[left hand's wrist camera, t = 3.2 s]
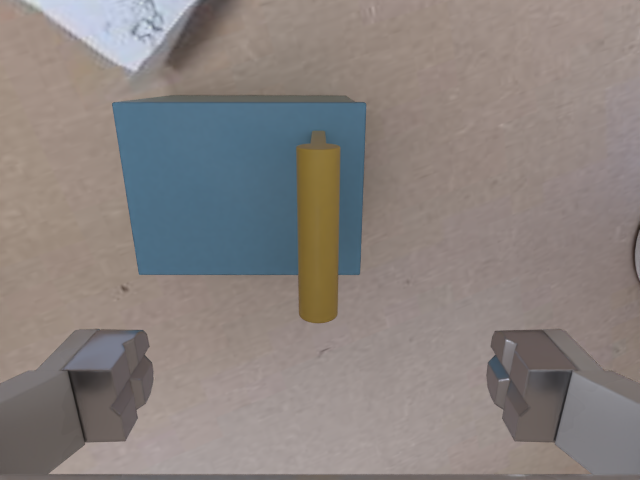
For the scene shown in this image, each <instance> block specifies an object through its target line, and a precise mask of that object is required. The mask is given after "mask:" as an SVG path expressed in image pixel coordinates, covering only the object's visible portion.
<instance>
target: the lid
mask: <svg viewBox="0 0 640 480" xmlns="http://www.w3.org/2000/svg"><path fill="white" fill-rule="evenodd" d="M112 106H113V113H114V119H115V125H116V132H117V138H118V144H119V151H120V157H121V163H122V170H123V176H124V182H125V189H126V195H127V201H128V208H129V214H130V220H131V227H132V233H133V240H134V246H135V252H136V259H137V265H138V271H139V275H298V284H299V315H300V317H301V318H302V319H303V320H305V321H308V322H311V323H325V322H329V321H331V320H333V319H334V318H335V317H336V316H337V313H338V275H360V261H361V234H362V206H363V179H364V152H365V125H366V103H364V102H114V103H112Z"/></svg>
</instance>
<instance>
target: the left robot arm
mask: <svg viewBox="0 0 640 480" xmlns="http://www.w3.org/2000/svg"><path fill="white" fill-rule="evenodd" d="M635 265H636V271H637V274H638V278H639V280H640V230H639V233H638V237H637V241H636V248H635ZM148 348H149V342H148V337H147V334H146V333H145V332H144V331H143V330H111V329H101V330H100V329H80V330H75V331H74V332H73V333H72V334H71V335H70V336H69V337H68V338H67V339H66V340H65V341H64V342H63V343H62V344H61V345H60V346H59V347H58V348H57V349H56V350H55V351H54V352H53V353H52V354H51V355H50V356H49V357H48V358H47V359H46V360H45V362H44V363H43V364H42V365H41V366H40V367H39V368H38V369H37V370H36V371H27V372H24V373H22V374H20V375H18V376H16V377H13V378H11V379H9V380H7V381H5V382H2V383H0V480H640V383H638V382H635V381H633V380H631V379H629V378H627V377H624V376H622V375H620V374H618V373H616V372H613V371H604V370H603V369H602V368H601V367H600V366H599V365H598V363H597V362H596V361H595V360H594V359H593V358H592V357H591V356H590V355H589V354H588V353H587V352H586V351H585V350H584V349H583V348H582V347H581V346H580V345H579V344H578V343H577V342H576V341H575V340H574V339H573V338H572V337H571V336H570V335H569V334H568V333H567V332H566V331H564V330H562V329H543V330H508V331H495V332H494V334H493V336H492V341H491V348H492V349H493V351H494V353H495V354H496V355H495V356H494V357H493V358H492V359H491V360H490V361H489V362H488V367H487V386H488V390H489V393H490V396H491V398H492V400H493V402H494V404H496V405H497V406H499V407H500V408H502V409H503V416H502V419H503V421H504V423H505V424H506V426H507V428H508V430H509V432H510V434H511V435H512V437H513V439H514V441H524V442H555V445H556V446H558V447H559V448H560V449H561V450H563V451H564V452H565V453H566V454H568V455H569V456H570V457H571V458H573V459H574V460H575V461H577V462H578V463H579V464H580V465H582V466H583V467H584V468H585V469H587V470H588V471H589V472H590V473H592V474H49V473H50V472H51V471H52V470H54V469H55V468H56V467H57V466H59V465H60V464H61V463H62V462H64V461H65V460H66V459H67V458H69V457H70V456H71V455H72V454H74V453H75V452H76V451H77V450H79V449H80V448H81V447H82V446H84V445H85V442H115V441H126V439H127V437H128V435H129V434H130V432H131V430H132V428H133V426H134V424H135V423H136V421H137V419H138V416H137V409H138V408H140V407H141V406H143V405H144V404H146V402H147V400H148V398H149V396H150V393H151V389H152V385H153V366H152V362H151V361H150V360H149V359H148V358H147V357H146V356H145V355H144V354H145V353H146V351H147V349H148Z"/></svg>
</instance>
